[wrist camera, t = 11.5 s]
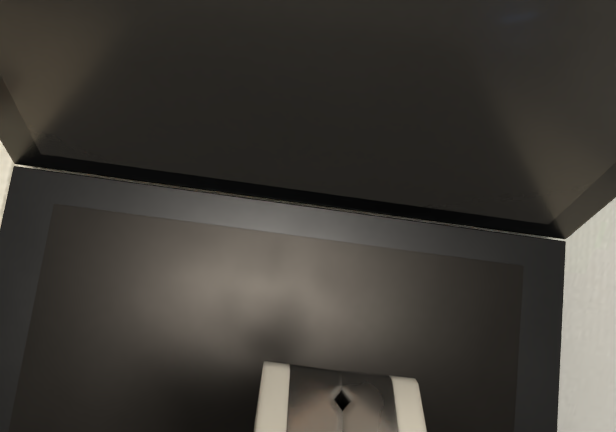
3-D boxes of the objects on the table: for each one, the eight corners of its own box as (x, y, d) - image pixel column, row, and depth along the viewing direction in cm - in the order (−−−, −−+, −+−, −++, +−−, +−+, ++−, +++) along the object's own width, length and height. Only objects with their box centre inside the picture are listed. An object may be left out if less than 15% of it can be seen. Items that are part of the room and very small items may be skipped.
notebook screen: (1076, -183, 12) (1051, -202, 12) (-380, -491, 10) (-345, -500, 10) (565, 241, 30) (563, 227, 31) (13, 165, 28) (19, 151, 28)
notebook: (526, 634, 29) (547, 660, 27) (-57, 586, 27) (-84, 611, 25) (547, 244, 32) (567, 241, 30) (29, 174, 30) (12, 165, 28)
